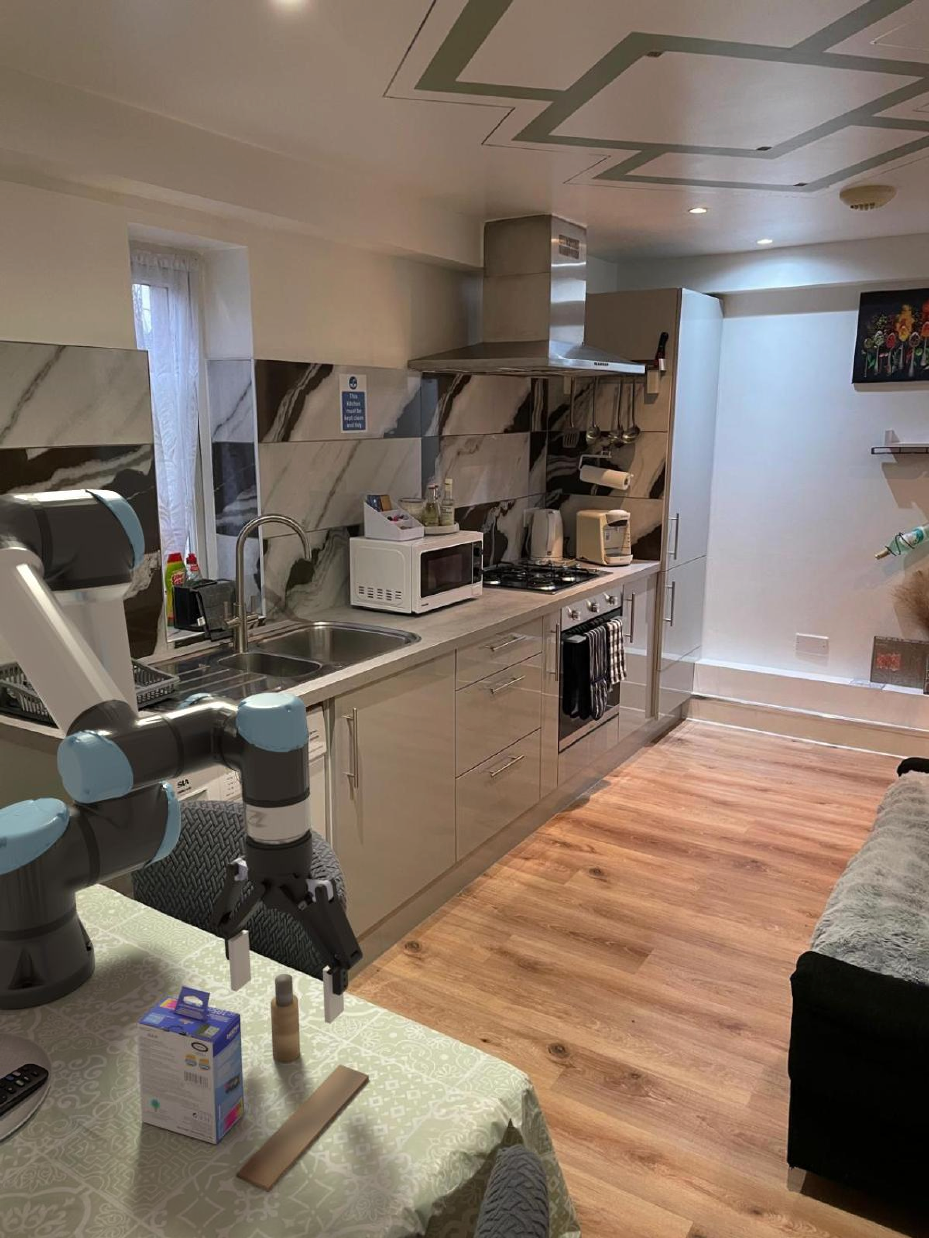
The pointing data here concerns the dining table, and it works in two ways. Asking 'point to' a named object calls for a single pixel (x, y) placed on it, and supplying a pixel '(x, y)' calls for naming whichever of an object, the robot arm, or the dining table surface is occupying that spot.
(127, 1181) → the dining table surface
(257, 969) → the dining table surface
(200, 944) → the dining table surface
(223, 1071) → the ink cartridge box
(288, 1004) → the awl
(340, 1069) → the strip
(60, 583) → the robot arm
